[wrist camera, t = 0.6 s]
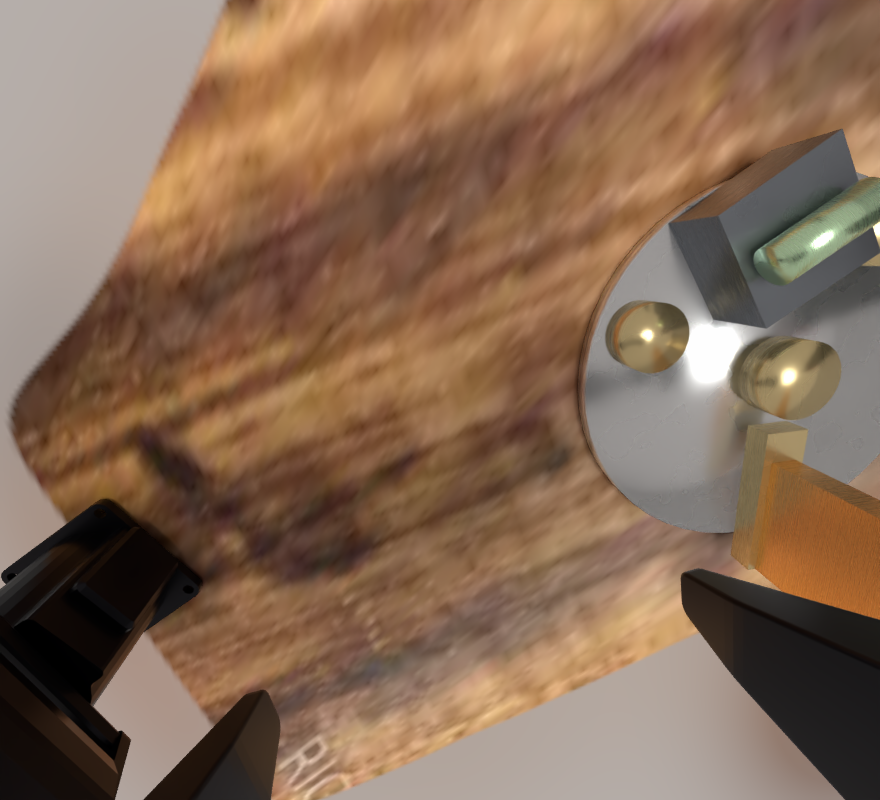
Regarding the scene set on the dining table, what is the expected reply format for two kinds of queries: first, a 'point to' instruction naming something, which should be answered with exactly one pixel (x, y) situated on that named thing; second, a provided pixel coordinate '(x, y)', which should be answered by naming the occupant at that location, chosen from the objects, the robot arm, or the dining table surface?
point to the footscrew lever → (801, 487)
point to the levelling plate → (736, 331)
